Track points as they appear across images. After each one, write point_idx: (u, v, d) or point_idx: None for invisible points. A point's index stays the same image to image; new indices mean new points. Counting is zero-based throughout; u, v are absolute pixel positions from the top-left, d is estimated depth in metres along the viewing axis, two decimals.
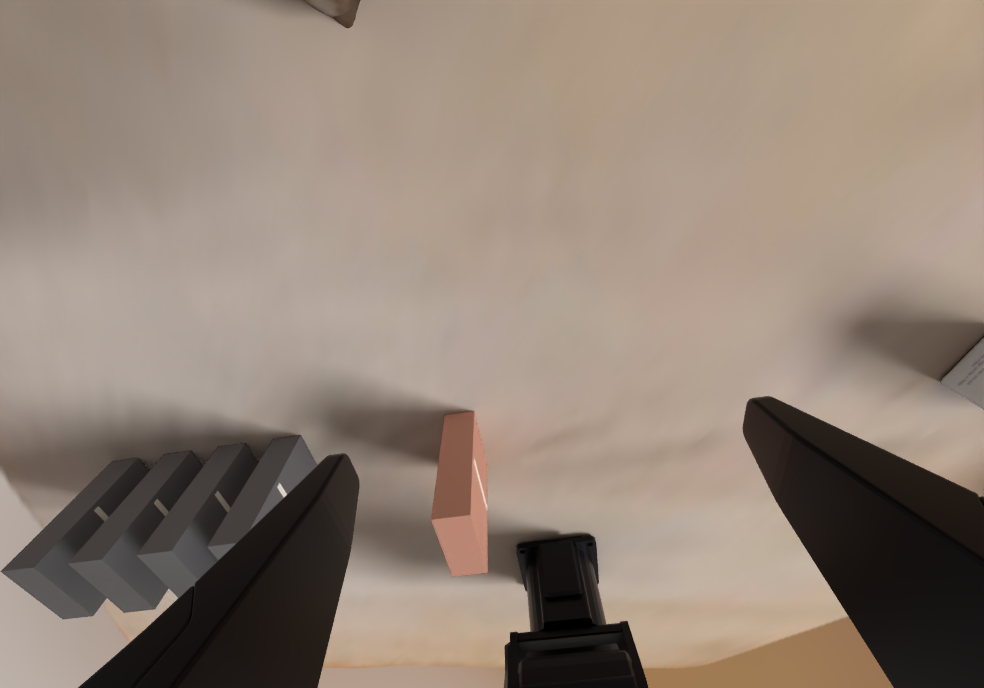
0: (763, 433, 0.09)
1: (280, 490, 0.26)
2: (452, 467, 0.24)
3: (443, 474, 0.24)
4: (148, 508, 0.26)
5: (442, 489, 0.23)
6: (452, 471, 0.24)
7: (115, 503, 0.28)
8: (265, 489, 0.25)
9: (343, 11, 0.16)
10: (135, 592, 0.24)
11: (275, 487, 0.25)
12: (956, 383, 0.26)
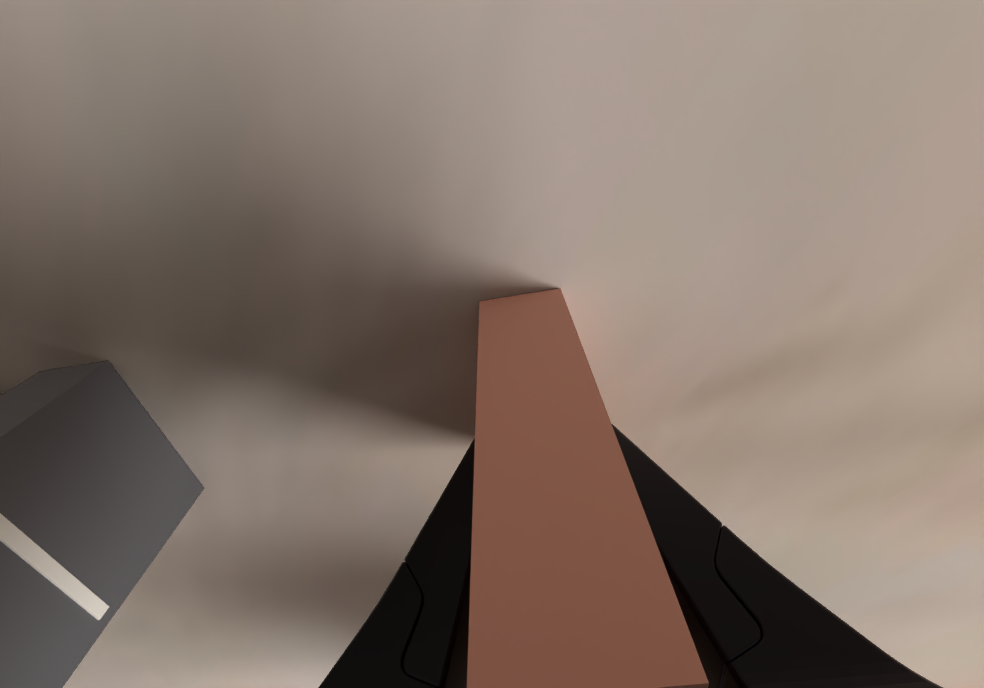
0: None
1: None
2: (531, 425, 0.06)
3: (500, 451, 0.06)
4: None
5: (506, 513, 0.05)
6: (535, 439, 0.06)
7: None
8: None
9: None
10: None
11: None
12: None
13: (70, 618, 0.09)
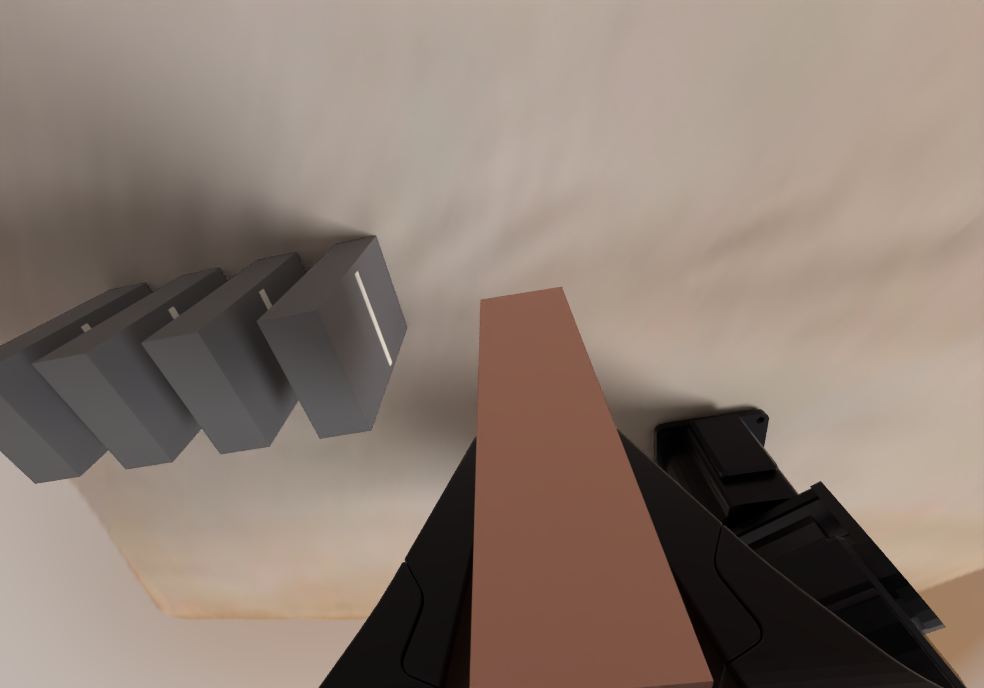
0: None
1: (358, 282, 0.17)
2: (533, 423, 0.06)
3: (502, 448, 0.06)
4: (160, 314, 0.17)
5: (508, 511, 0.05)
6: (536, 436, 0.06)
7: None
8: (338, 272, 0.16)
9: None
10: (142, 427, 0.15)
11: (352, 272, 0.16)
12: None
13: (383, 357, 0.18)
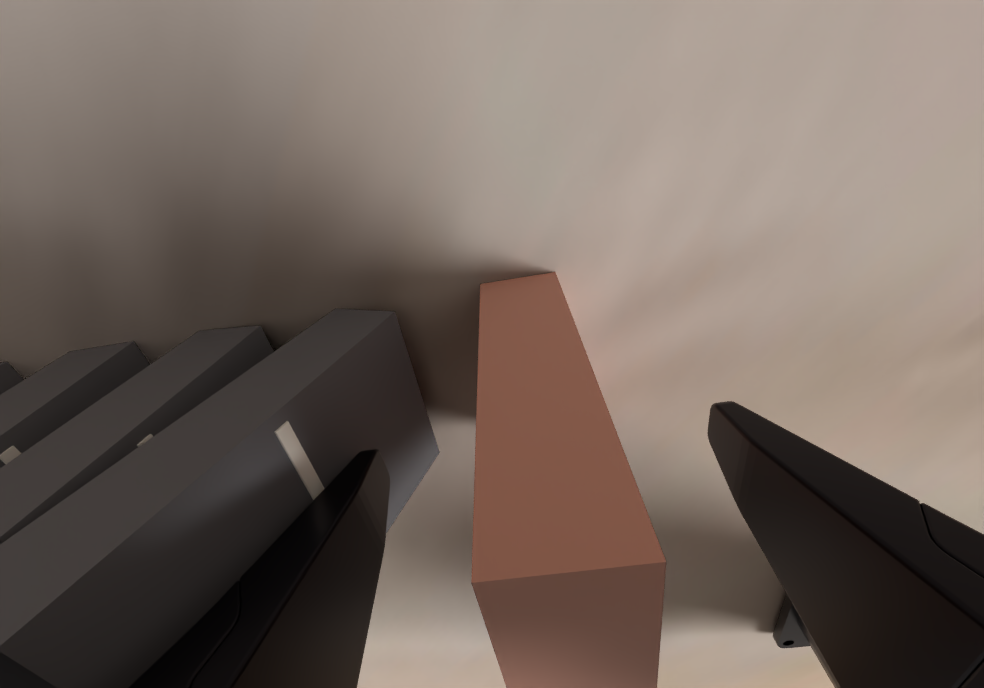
0: (724, 438, 0.09)
1: (286, 445, 0.08)
2: (527, 383, 0.07)
3: (499, 403, 0.07)
4: None
5: (504, 450, 0.06)
6: (529, 394, 0.07)
7: None
8: (234, 430, 0.08)
9: None
10: None
11: (266, 432, 0.08)
12: None
13: None
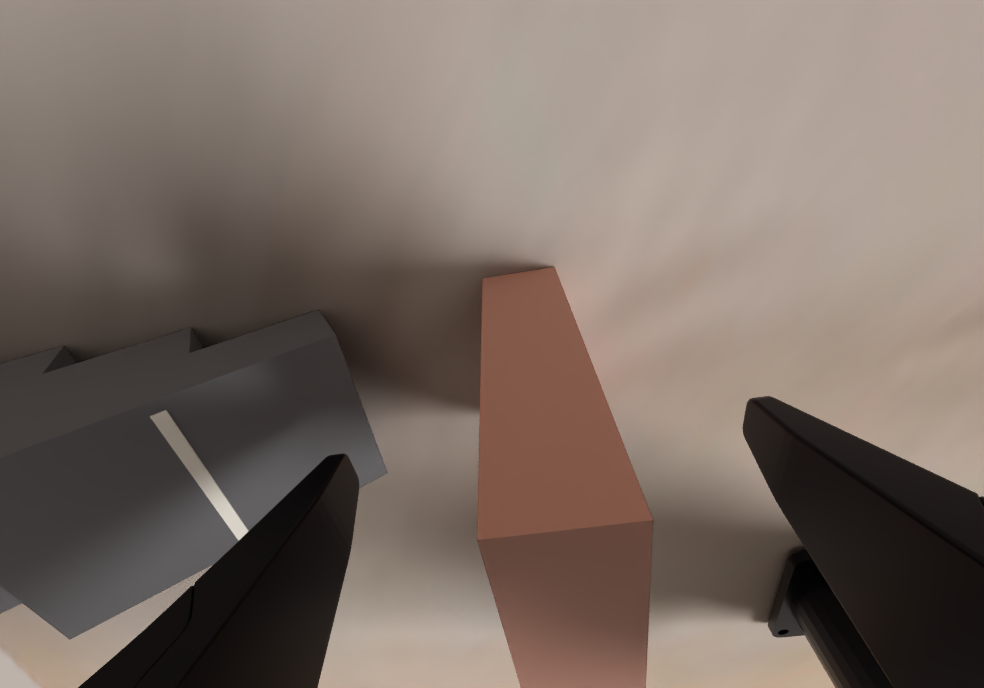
0: (763, 433, 0.09)
1: (163, 428, 0.09)
2: (527, 369, 0.08)
3: (501, 386, 0.07)
4: None
5: (506, 428, 0.06)
6: (529, 378, 0.07)
7: None
8: (124, 403, 0.09)
9: None
10: None
11: (141, 415, 0.09)
12: None
13: (217, 531, 0.11)
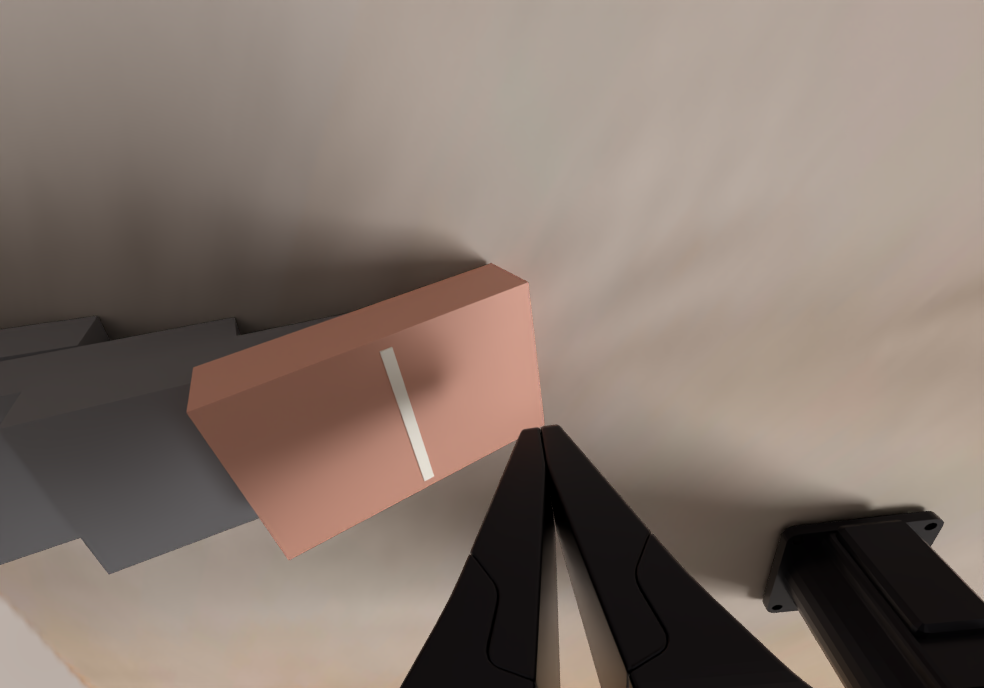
0: None
1: None
2: (341, 330, 0.10)
3: (319, 329, 0.11)
4: None
5: (276, 345, 0.10)
6: (329, 335, 0.10)
7: None
8: None
9: None
10: None
11: None
12: None
13: None
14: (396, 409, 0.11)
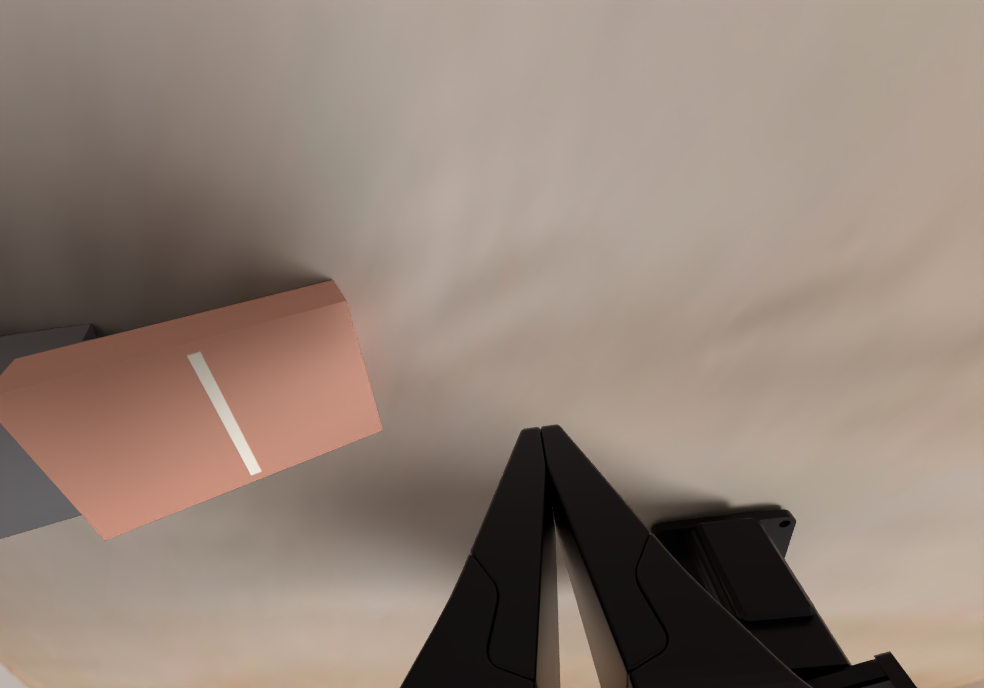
0: None
1: None
2: (161, 333, 0.11)
3: (144, 331, 0.12)
4: None
5: (98, 343, 0.11)
6: (149, 337, 0.11)
7: None
8: None
9: None
10: None
11: None
12: None
13: None
14: (211, 408, 0.12)
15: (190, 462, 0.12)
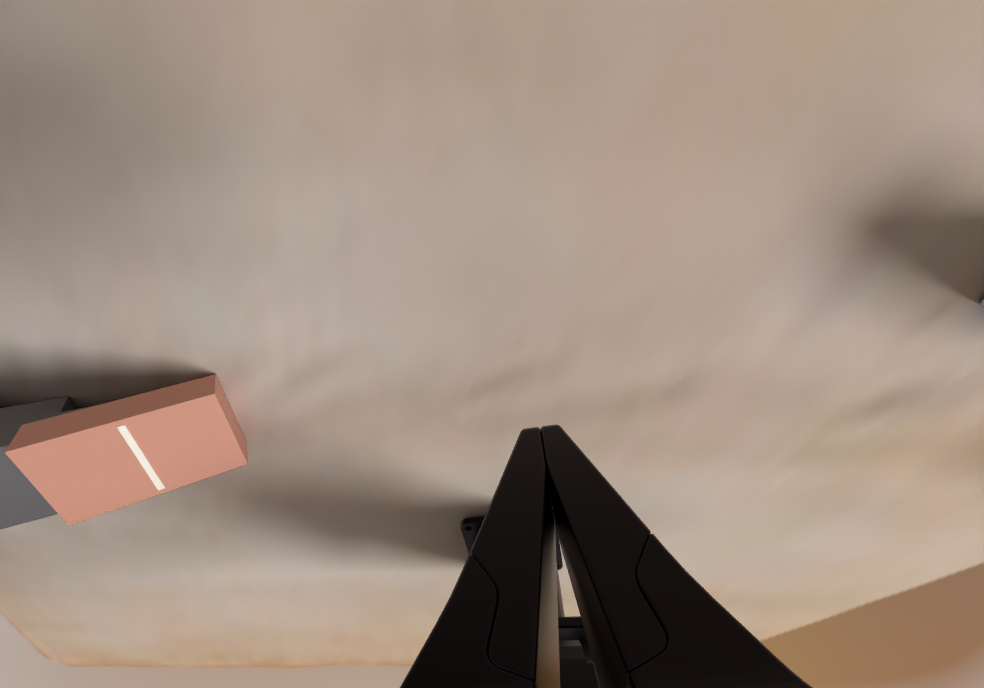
0: None
1: None
2: (104, 412, 0.20)
3: (95, 409, 0.21)
4: None
5: (68, 417, 0.20)
6: (97, 414, 0.20)
7: None
8: None
9: None
10: None
11: None
12: None
13: None
14: (132, 453, 0.21)
15: (119, 483, 0.21)
